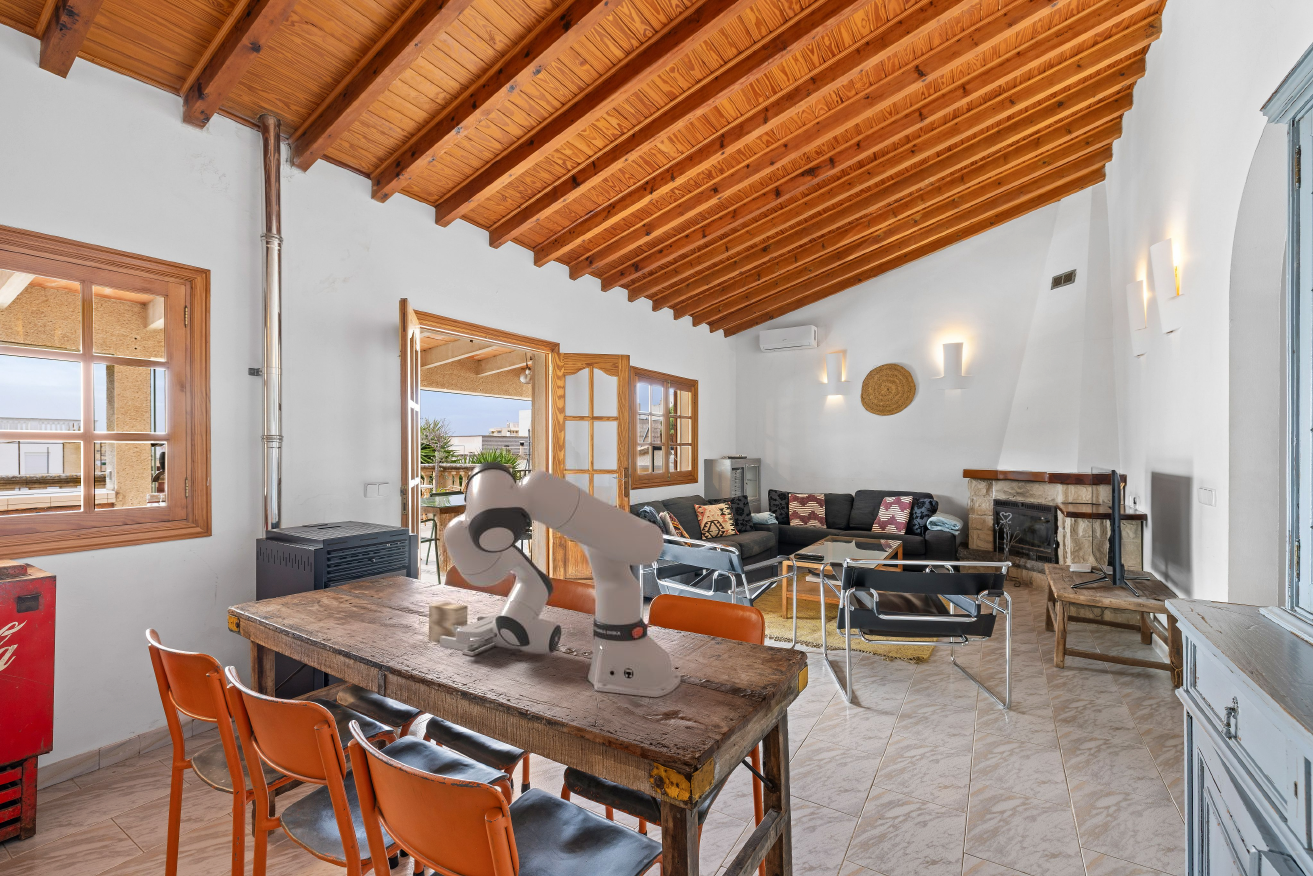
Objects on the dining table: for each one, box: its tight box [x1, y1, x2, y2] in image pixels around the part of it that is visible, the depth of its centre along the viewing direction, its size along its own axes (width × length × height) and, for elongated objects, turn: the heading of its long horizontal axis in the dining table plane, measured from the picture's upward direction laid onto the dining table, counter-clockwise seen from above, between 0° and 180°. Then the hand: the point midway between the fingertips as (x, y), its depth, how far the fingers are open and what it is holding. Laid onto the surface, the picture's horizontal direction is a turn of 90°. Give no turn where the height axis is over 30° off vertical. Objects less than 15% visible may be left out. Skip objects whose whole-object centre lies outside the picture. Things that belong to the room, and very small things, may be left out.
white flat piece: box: [439, 636, 472, 651], centre depth 166 cm, size 10×9×2 cm
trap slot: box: [461, 640, 497, 657], centre depth 163 cm, size 4×14×1 cm, turn 156°
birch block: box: [428, 601, 469, 644], centre depth 169 cm, size 10×4×10 cm, turn 66°
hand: (467, 623), depth 166 cm, fingers open, 8 cm apart
